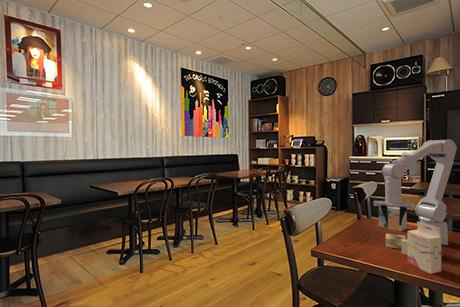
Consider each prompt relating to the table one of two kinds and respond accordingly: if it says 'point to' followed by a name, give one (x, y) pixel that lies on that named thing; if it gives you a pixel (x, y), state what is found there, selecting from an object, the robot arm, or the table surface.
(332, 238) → the table surface
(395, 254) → the table surface
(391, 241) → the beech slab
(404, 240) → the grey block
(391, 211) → the light bulb box
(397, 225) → the terracotta block
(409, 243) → the ink cartridge box
